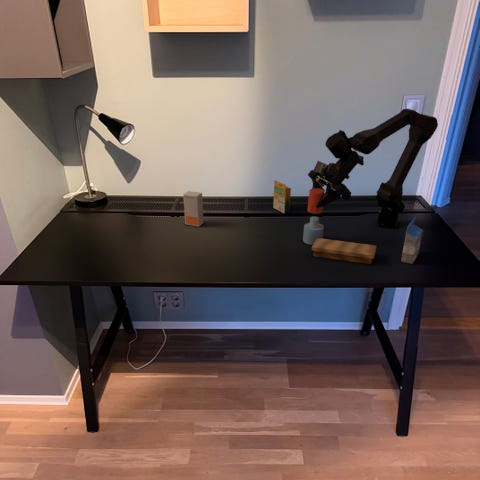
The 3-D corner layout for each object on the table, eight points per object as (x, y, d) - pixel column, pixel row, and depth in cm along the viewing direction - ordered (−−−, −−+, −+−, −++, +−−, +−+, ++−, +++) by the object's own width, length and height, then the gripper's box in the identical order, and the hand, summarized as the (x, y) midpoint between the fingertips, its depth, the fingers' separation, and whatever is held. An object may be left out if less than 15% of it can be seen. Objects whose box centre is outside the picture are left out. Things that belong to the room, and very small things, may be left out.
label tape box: (412, 264, 147) (420, 228, 140) (399, 261, 149) (407, 226, 142) (419, 253, 153) (427, 219, 146) (407, 251, 155) (414, 216, 148)
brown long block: (374, 255, 152) (376, 245, 150) (372, 265, 147) (374, 255, 145) (315, 247, 158) (316, 237, 156) (311, 256, 152) (311, 247, 150)
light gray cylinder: (323, 238, 164) (326, 215, 159) (320, 246, 158) (322, 223, 154) (305, 235, 166) (306, 213, 161) (301, 243, 160) (302, 220, 156)
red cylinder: (323, 209, 157) (325, 189, 153) (321, 214, 153) (323, 194, 149) (309, 207, 158) (311, 187, 154) (306, 212, 154) (307, 192, 150)
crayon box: (289, 212, 185) (291, 183, 178) (284, 213, 183) (285, 185, 177) (278, 206, 190) (279, 178, 183) (273, 208, 188) (274, 180, 182)
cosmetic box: (185, 224, 175) (182, 194, 168) (190, 220, 178) (187, 190, 171) (199, 227, 173) (197, 196, 166) (204, 223, 176) (202, 192, 169)
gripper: (314, 145, 153) (284, 182, 156) (348, 158, 139) (314, 199, 142) (332, 165, 160) (302, 201, 163) (365, 180, 146) (332, 219, 149)
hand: (312, 204), depth 154 cm, fingers closed on red cylinder, 5 cm apart
